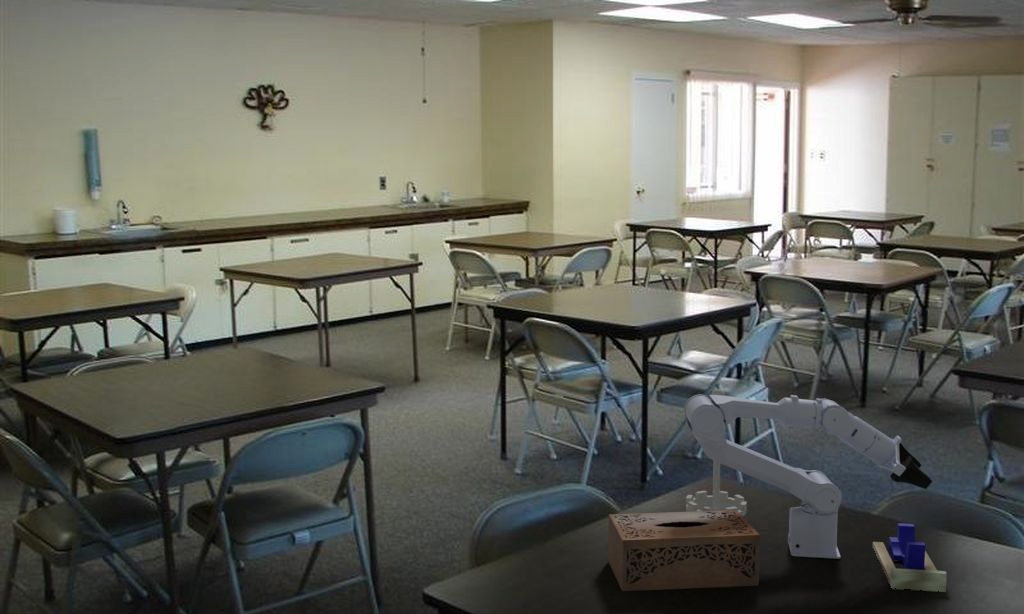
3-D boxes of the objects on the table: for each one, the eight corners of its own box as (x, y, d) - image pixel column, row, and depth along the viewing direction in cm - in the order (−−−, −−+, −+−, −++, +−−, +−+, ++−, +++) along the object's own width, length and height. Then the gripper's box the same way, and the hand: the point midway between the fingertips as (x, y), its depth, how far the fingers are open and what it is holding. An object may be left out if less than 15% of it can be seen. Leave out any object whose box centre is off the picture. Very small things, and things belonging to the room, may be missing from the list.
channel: (891, 588, 192) (892, 570, 192) (872, 547, 213) (873, 530, 212) (945, 592, 190) (946, 573, 190) (921, 550, 211) (922, 533, 211)
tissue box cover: (735, 558, 208) (736, 509, 207) (758, 586, 194) (760, 535, 193) (608, 563, 206) (608, 514, 205) (622, 592, 192) (622, 540, 191)
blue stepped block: (888, 551, 211) (889, 522, 210) (912, 552, 210) (913, 524, 210) (899, 573, 200) (900, 543, 199) (923, 575, 199) (925, 545, 198)
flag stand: (752, 533, 221) (755, 395, 217) (690, 533, 221) (692, 395, 217) (739, 513, 234) (742, 382, 230) (681, 513, 234) (683, 382, 230)
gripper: (889, 439, 199) (947, 476, 200) (871, 411, 213) (925, 446, 214) (866, 467, 201) (923, 504, 202) (850, 437, 215) (904, 472, 216)
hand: (923, 476), depth 208 cm, fingers open, 7 cm apart
